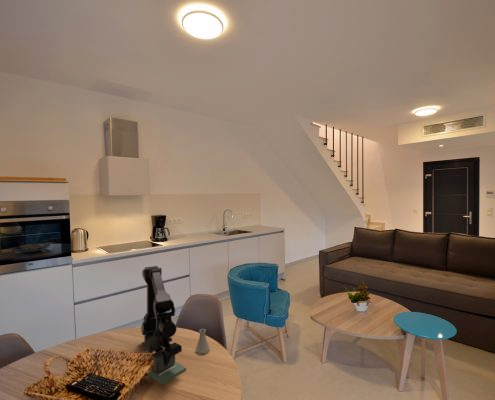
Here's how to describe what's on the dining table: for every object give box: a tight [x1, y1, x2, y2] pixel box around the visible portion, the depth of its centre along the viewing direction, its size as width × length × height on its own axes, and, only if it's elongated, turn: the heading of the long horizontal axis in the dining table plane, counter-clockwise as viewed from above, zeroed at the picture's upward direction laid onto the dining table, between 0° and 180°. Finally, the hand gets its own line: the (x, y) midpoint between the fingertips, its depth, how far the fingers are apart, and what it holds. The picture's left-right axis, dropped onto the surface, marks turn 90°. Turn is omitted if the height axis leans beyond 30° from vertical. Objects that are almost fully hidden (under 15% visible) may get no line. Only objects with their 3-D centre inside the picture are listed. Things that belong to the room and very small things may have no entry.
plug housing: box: [150, 348, 176, 373], centre depth 118 cm, size 4×9×6 cm, turn 142°
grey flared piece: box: [194, 328, 211, 355], centre depth 134 cm, size 7×7×10 cm
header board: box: [147, 361, 187, 385], centre depth 118 cm, size 16×12×6 cm
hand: (163, 363), depth 118 cm, fingers closed on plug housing, 4 cm apart
